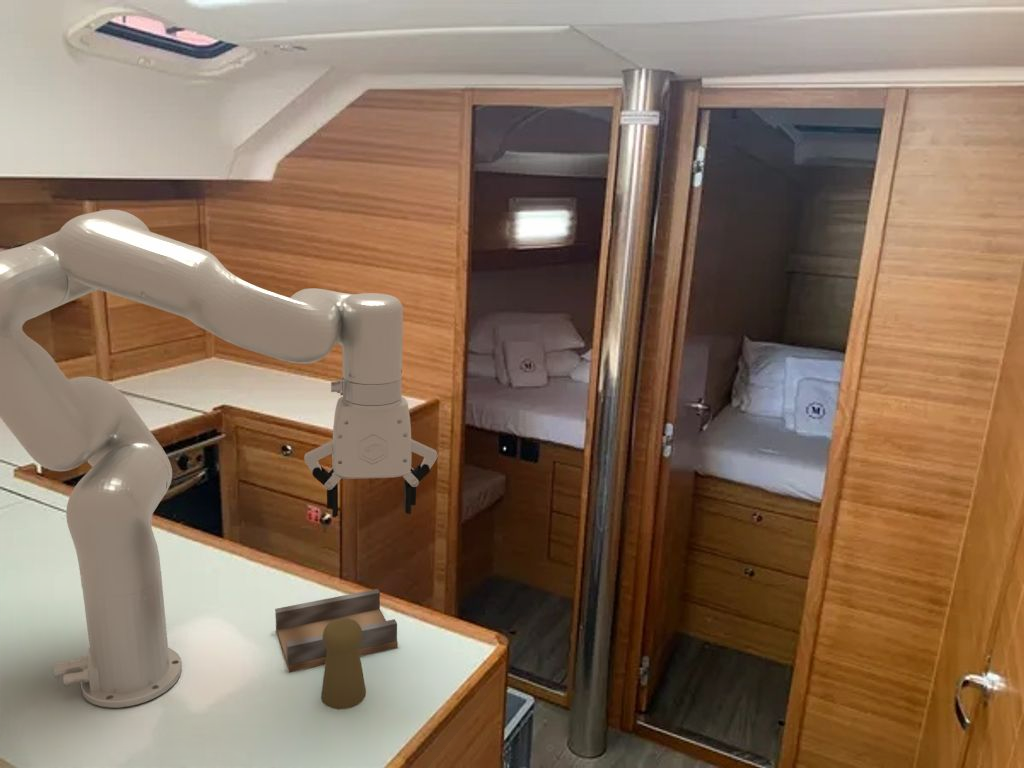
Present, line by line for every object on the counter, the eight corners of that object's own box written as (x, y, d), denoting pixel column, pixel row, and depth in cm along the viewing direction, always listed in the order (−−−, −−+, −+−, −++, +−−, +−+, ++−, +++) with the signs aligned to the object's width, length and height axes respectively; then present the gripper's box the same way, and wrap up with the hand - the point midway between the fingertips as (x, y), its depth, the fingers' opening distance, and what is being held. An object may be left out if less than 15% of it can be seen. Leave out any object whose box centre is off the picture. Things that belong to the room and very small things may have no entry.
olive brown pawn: (346, 674, 114) (345, 606, 110) (375, 693, 110) (374, 623, 107) (311, 695, 109) (309, 625, 106) (340, 715, 105) (338, 643, 102)
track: (289, 672, 113) (287, 648, 112) (275, 630, 123) (274, 607, 122) (397, 647, 120) (397, 624, 119) (377, 609, 130) (377, 587, 128)
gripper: (301, 400, 98) (304, 527, 102) (442, 398, 101) (438, 521, 106) (304, 382, 105) (306, 502, 110) (435, 381, 108) (432, 497, 113)
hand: (371, 511), depth 108 cm, fingers open, 9 cm apart
